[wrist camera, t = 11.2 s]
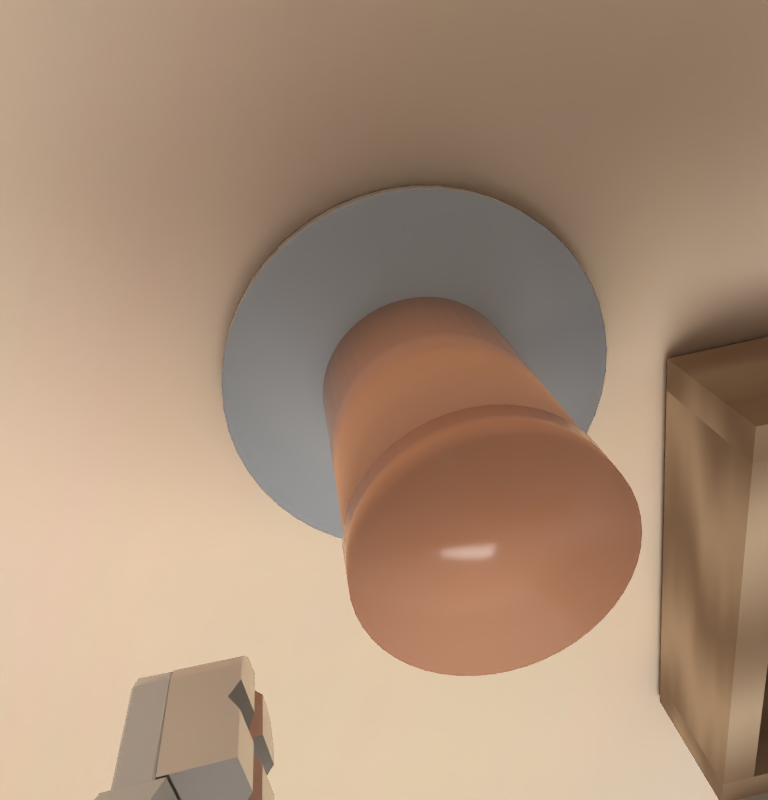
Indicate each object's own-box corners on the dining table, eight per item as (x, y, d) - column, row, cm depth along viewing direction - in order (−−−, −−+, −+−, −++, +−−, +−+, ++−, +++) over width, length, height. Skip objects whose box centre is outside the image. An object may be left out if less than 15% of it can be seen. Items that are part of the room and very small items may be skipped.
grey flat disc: (172, 231, 16) (168, 238, 16) (591, 147, 17) (602, 150, 16) (275, 566, 21) (275, 579, 20) (601, 491, 21) (609, 503, 21)
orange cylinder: (301, 318, 17) (319, 473, 11) (506, 275, 17) (642, 401, 11) (341, 492, 19) (376, 702, 13) (522, 452, 19) (641, 639, 13)
